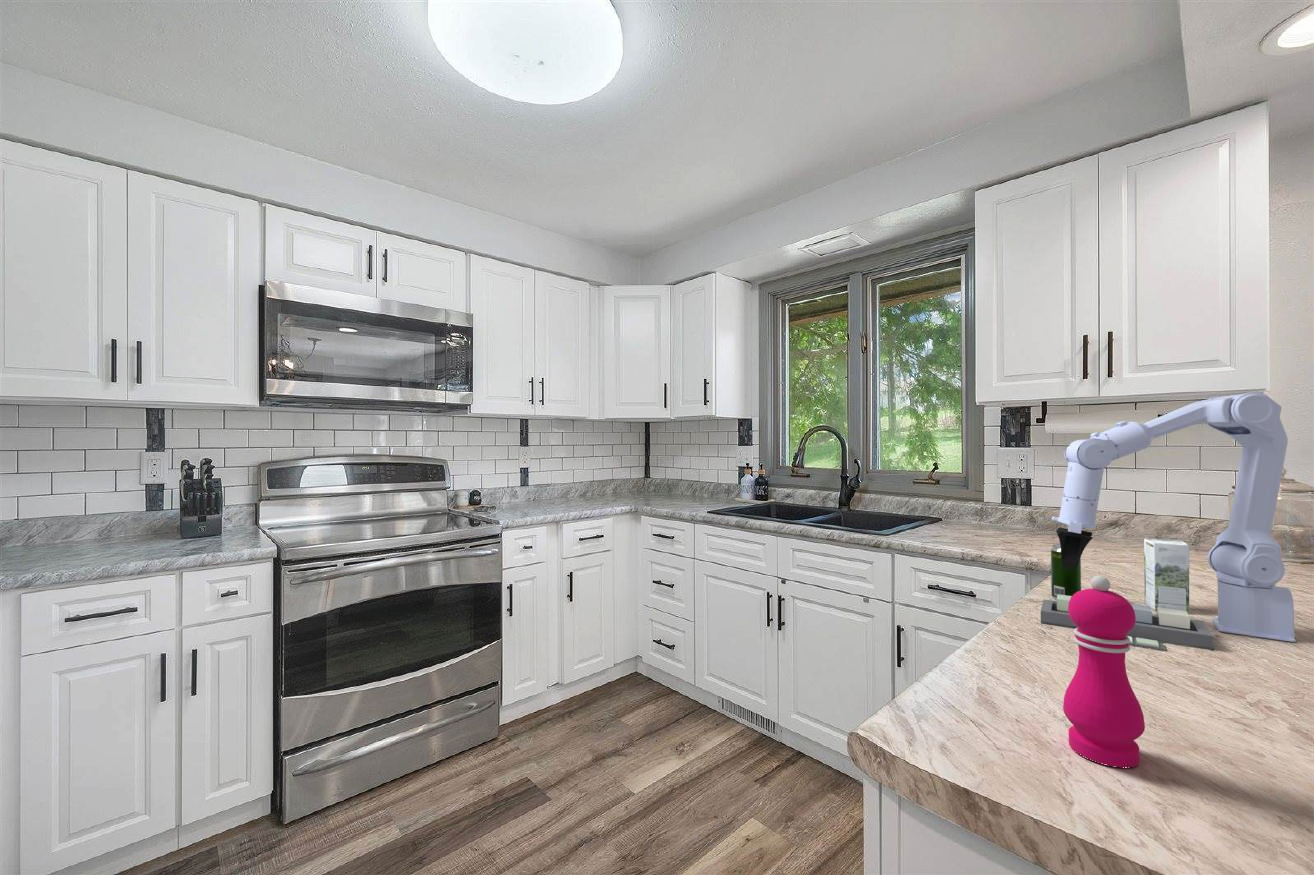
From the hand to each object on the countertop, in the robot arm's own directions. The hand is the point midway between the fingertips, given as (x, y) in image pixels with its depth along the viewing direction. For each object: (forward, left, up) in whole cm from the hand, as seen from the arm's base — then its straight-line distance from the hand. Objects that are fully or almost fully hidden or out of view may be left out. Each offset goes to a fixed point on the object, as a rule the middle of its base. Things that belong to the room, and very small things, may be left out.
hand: (1068, 566), depth 111 cm
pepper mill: (-4, +57, -11) cm, 58 cm away
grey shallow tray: (-8, +1, -11) cm, 13 cm away
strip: (-8, +10, -11) cm, 16 cm away
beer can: (+1, -17, -11) cm, 20 cm away
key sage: (0, +1, -8) cm, 8 cm away
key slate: (-10, +1, -8) cm, 13 cm away
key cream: (-15, +1, -8) cm, 17 cm away
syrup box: (-16, -21, -11) cm, 28 cm away
